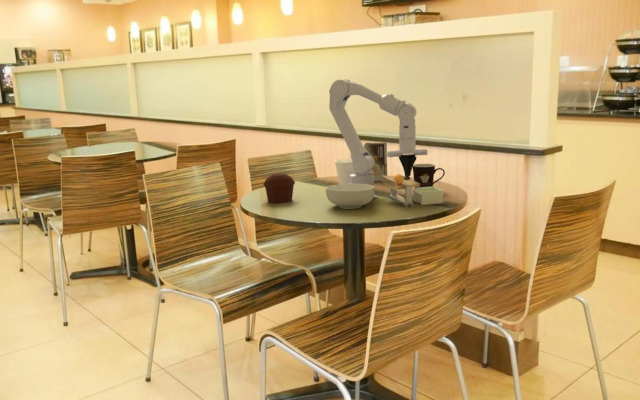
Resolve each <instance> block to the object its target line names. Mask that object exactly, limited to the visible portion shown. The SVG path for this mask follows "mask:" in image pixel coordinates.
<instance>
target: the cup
mask: <svg viewBox="0 0 640 400" xmlns="http://www.w3.org/2000/svg"><path fill="white" fill-rule="evenodd" d="M334 164H335V169H336V175H337V180H338V184H348V176H349V175H352V174H354V172H355V171H354V169H353V162H352V159H351V158H346V159H344V158H343V159H342V158H341V159H336V160H334Z"/></svg>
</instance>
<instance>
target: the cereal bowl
mask: <svg viewBox="0 0 640 400" xmlns="http://www.w3.org/2000/svg"><path fill="white" fill-rule="evenodd" d="M375 190H376V189H375V185H374V186H373V185H369V184H359V183H348V184H339V183H338V184H333V185H328V186H326V187H325V194H326V195H325V196H326V199H327V200H328V201H329V203H331V204H333V205H336V206H338V207H339V208H340V209H343V210H355V209H361V208H362V207H363V206H365V205H367V204H369V203H370V202H371V201H372V200H373V199H374V198H373V197H374V195H375Z"/></svg>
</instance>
